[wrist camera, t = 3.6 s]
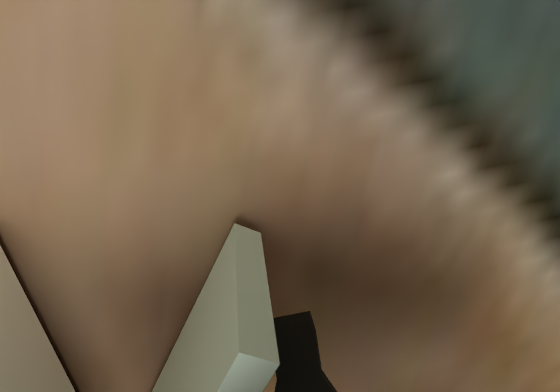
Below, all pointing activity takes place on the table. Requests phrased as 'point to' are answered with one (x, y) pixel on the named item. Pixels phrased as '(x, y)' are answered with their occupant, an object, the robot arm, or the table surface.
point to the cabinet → (25, 342)
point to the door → (227, 326)
